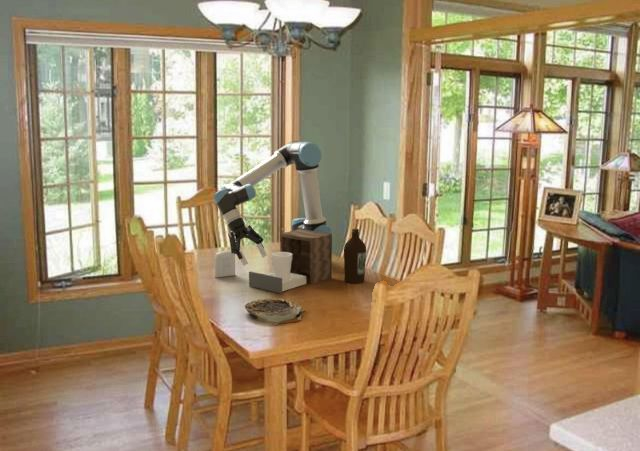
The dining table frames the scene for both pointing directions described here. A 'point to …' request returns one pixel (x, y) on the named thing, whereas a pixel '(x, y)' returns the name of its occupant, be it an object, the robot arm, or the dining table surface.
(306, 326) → the dining table surface
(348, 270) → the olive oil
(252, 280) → the tray
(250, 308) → the pie
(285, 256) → the foam cup
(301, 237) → the cabinet
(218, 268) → the photo printer
